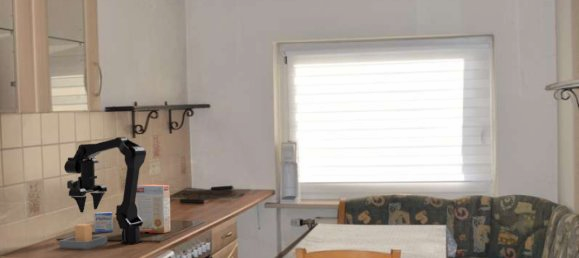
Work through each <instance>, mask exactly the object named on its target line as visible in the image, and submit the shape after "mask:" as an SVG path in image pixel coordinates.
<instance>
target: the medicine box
mask: <svg viewBox="0 0 579 258" xmlns="http://www.w3.org/2000/svg"><path fill="white" fill-rule="evenodd" d="M93 214H94V215H93V220H94V221H93V222H94V233H95V234H100V233H99V232H103V233H113V232H114V221H113V218H114V217H113V212H112V211H108V212H107V211H104V212H103V211H102V212H100V211H99V212H94V213H93Z"/></svg>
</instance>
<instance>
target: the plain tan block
mask: <svg viewBox="0 0 579 258" xmlns="http://www.w3.org/2000/svg"><path fill="white" fill-rule="evenodd" d="M92 229H93V228H92V223H78V224H76V225H74V230H75V231H74V233H75V234H74V235H75V236H74V237H75V240H76V241H85V242H87V241H90V240H92V236H93V234H92V233H93V232H92V231H93V230H92Z"/></svg>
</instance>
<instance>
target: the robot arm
mask: <svg viewBox="0 0 579 258" xmlns="http://www.w3.org/2000/svg"><path fill="white" fill-rule="evenodd" d="M117 148H118V151H119V152H120V153H121V155H123V156H124V163H125V166H126V175H125V182H124V189H123V196H122V202H121V203H120V204H118V205H116V206H115V207H116V208H115V209H116V210H115V211H116V212H115V215H114V216H115V218H116V221H117V223H118V226H119V229H120V230H122V231H121V241H120V244H124V245H127V244H128V245H136V244H138V243H141V242H142V243H143V240H142V239H141V232H140V226H142V224H143V221H142V220H141V218H140V217H139V216H138V215H137V203H136V200H137V198H136V191H137V186H138V185H139V184H138V183H139V176H140V169H141V167H142V166H143V164H144V163H145V160H146V155H147V151H146V149H145V148H144V147H143V146H141V145H139V144H138V143H136V142H134V141H132V140H130V139H129V138H128V137H126V136H119V137H115V138H112V139H107V140H105V141H104V140H103V141H101V142H98V143H97V142H96V143H83V144H82V143H81V144H80V145H78V147H77V150H76V152H75V154H74V155H73V157H71V156H70V157H67V160H66V162H65V164H64V166H63V169H64V171H65V173H67V174H77V175H78V174H80V175H79V176H78V178H77V180H75V181H74V180H73V179H72V180H71V179H70V180H68V181H66V188H67V189H69V190H68V196H69V197H70V198H72V199H74V201H75V202H76V205H77V207H78V210H79V212H80V213H81V214H82V213H84V210H85V205H86V201H87V195H86V194H88V193H89V194H90V195H91V196H92V203H93V209H94V210H98V207H99V205H100V204H101V203H100V202H101V200H102V198H103V197H104V195H105V194H106V192H108V186H107V185H105V184H96V179H98V175H96V172H95V171H96V169H95V165H96V164H98V163H99V160H98V159H96V156H98V155H100V154H101V153H103V152H106V151H110V150H113V149H114V150H115V149H117Z"/></svg>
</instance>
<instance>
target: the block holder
mask: <svg viewBox="0 0 579 258" xmlns="http://www.w3.org/2000/svg"><path fill="white" fill-rule="evenodd" d="M107 244H108V236H107V235H106V236H105V235H92V240H90V241H87V242H85V241H76V240H75V236H72V237H68V238H64V239H60V240H59V249H70V250H82V251H83V250H85V251H87V250H90V249H91V250H92V249H94V248H98V247H101V246H105V245H107Z"/></svg>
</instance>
